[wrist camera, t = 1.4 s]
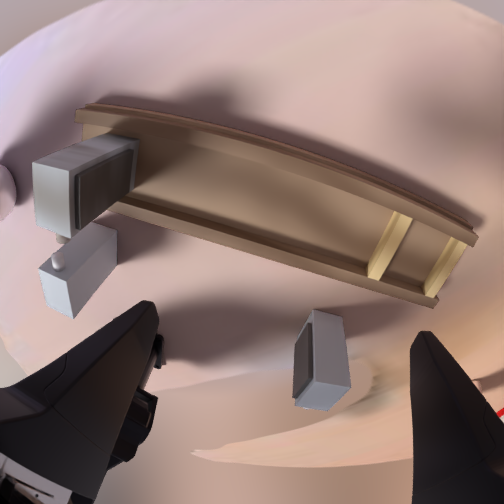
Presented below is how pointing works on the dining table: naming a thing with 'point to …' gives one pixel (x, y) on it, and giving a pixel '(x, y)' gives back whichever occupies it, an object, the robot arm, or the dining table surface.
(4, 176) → the plastic bottle
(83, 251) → the box with small knob
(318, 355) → the grey boxy piece
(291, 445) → the dining table surface
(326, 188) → the rail
